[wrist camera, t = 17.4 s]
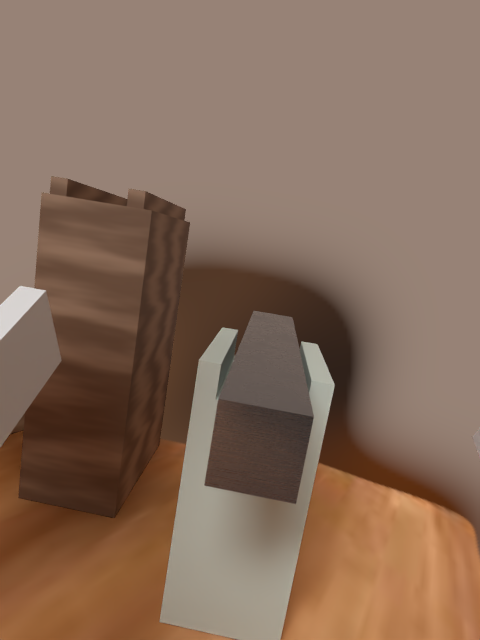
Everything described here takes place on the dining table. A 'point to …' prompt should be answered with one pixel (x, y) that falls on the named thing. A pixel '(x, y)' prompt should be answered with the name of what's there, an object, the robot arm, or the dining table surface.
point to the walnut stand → (102, 343)
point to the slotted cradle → (237, 520)
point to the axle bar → (262, 415)
